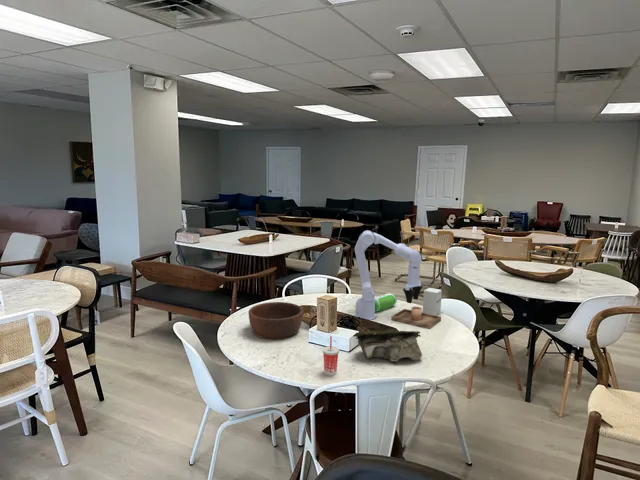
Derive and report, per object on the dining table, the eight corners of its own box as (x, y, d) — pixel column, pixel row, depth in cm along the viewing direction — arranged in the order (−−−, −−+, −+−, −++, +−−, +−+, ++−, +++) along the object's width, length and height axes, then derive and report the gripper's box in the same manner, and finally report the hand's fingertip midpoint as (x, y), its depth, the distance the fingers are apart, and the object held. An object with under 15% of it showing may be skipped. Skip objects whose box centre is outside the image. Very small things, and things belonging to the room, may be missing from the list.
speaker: (377, 314, 218) (377, 300, 217) (366, 310, 223) (366, 297, 222) (397, 307, 230) (397, 293, 229) (386, 304, 236) (386, 291, 234)
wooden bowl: (312, 326, 199) (312, 306, 198) (286, 346, 177) (286, 323, 175) (267, 318, 210) (267, 299, 208) (237, 336, 187) (237, 314, 186)
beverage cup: (337, 377, 151) (338, 340, 148) (320, 375, 152) (321, 339, 149) (339, 369, 157) (340, 334, 154) (323, 367, 158) (324, 332, 155)
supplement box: (435, 316, 216) (436, 292, 214) (422, 313, 220) (423, 290, 218) (440, 312, 221) (442, 289, 219) (427, 309, 226) (428, 287, 224)
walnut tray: (391, 320, 209) (391, 316, 209) (404, 312, 221) (404, 308, 221) (429, 329, 198) (429, 325, 197) (440, 320, 210) (441, 316, 209)
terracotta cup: (409, 319, 209) (410, 308, 208) (413, 316, 213) (413, 305, 212) (419, 321, 206) (419, 310, 205) (422, 318, 210) (423, 307, 209)
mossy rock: (353, 369, 167) (355, 355, 155) (351, 339, 175) (353, 323, 163) (423, 367, 167) (430, 353, 155) (418, 337, 175) (425, 322, 163)
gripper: (415, 278, 200) (413, 306, 202) (427, 273, 212) (425, 299, 214) (401, 276, 204) (400, 303, 206) (414, 271, 216) (412, 296, 218)
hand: (412, 301), depth 210 cm, fingers open, 7 cm apart
